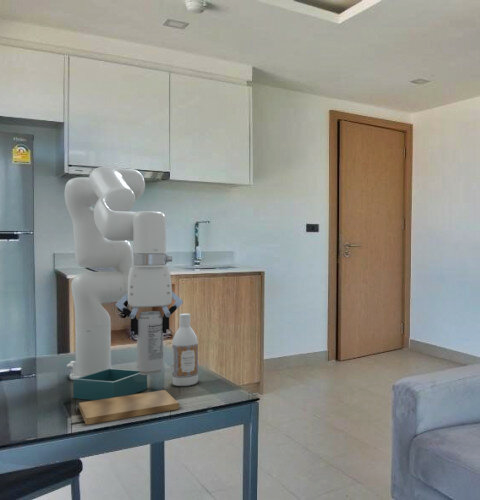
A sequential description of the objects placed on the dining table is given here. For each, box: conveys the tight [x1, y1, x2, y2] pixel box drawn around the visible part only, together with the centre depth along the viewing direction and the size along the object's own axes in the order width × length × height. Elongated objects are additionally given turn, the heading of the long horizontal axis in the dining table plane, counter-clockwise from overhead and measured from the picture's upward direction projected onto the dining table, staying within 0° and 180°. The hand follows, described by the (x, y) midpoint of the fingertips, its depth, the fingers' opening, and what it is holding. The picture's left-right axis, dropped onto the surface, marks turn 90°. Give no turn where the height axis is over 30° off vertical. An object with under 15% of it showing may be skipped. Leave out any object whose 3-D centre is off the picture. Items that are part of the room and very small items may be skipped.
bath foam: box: [171, 313, 199, 387], centre depth 153 cm, size 7×7×20 cm
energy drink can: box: [136, 310, 164, 376], centre depth 132 cm, size 6×6×15 cm
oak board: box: [78, 389, 180, 426], centre depth 129 cm, size 20×14×2 cm
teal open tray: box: [72, 367, 148, 401], centre depth 143 cm, size 13×13×5 cm
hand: (150, 332), depth 132 cm, fingers closed on energy drink can, 6 cm apart
